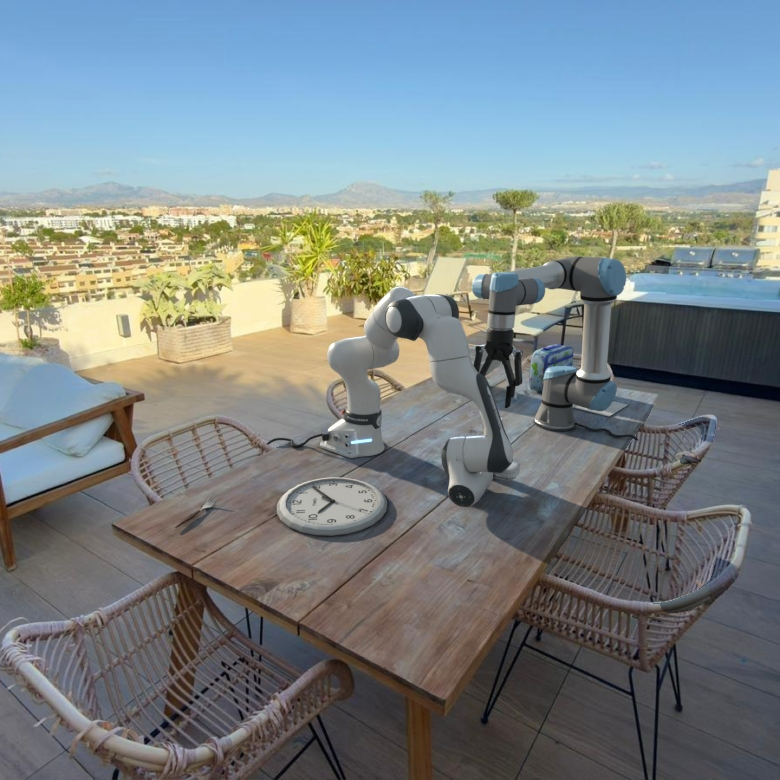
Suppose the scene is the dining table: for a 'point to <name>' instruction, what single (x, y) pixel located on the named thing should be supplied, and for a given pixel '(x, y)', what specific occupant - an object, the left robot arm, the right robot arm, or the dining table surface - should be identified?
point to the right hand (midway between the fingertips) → (494, 404)
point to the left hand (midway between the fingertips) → (490, 454)
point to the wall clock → (331, 506)
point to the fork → (206, 505)
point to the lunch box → (548, 363)
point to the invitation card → (609, 411)
